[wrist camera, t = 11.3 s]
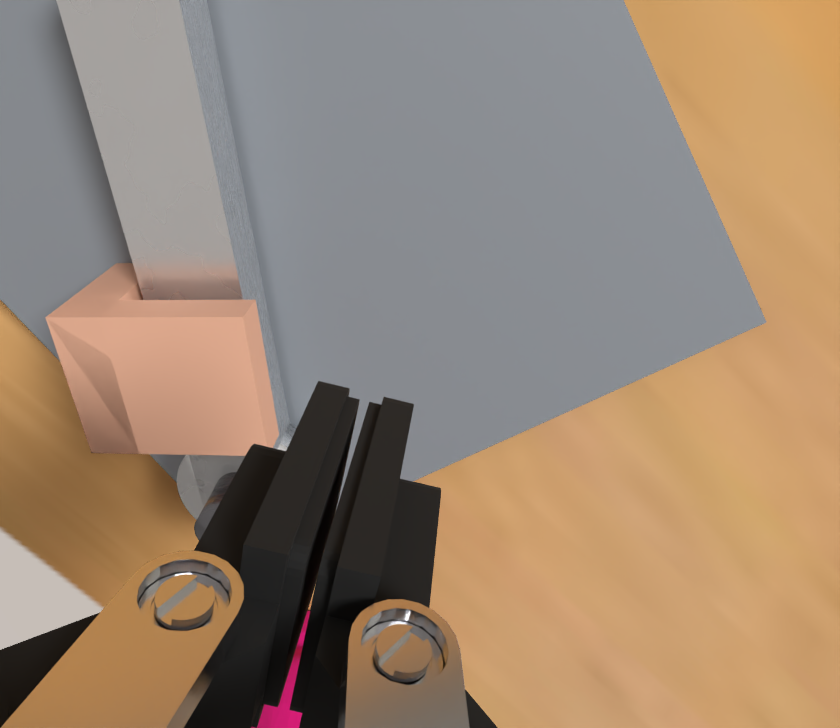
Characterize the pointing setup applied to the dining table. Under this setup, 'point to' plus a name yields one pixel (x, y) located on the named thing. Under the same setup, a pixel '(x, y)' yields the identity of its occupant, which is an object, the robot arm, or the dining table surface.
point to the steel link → (173, 177)
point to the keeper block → (164, 370)
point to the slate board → (411, 205)
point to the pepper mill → (285, 695)
